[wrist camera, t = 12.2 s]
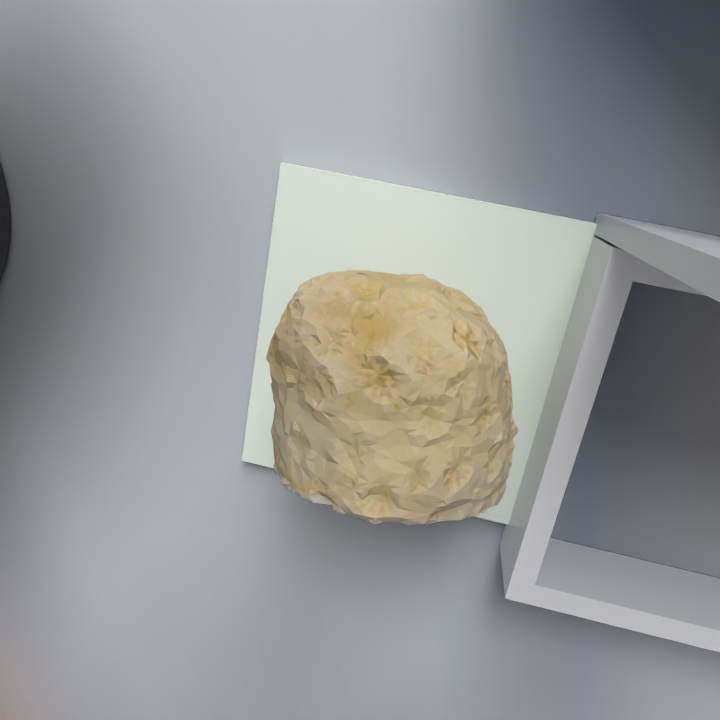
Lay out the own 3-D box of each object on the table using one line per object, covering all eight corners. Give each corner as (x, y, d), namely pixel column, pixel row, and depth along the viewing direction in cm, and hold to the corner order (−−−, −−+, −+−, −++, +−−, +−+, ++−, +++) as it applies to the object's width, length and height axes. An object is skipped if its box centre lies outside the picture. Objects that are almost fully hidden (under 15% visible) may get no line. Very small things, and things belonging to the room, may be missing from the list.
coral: (222, 555, 24) (198, 362, 17) (314, 380, 31) (322, 197, 25) (469, 636, 22) (548, 459, 16) (504, 432, 30) (568, 252, 23)
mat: (245, 455, 31) (241, 460, 31) (284, 162, 27) (280, 162, 26) (528, 522, 30) (529, 529, 29) (619, 227, 25) (622, 229, 25)
